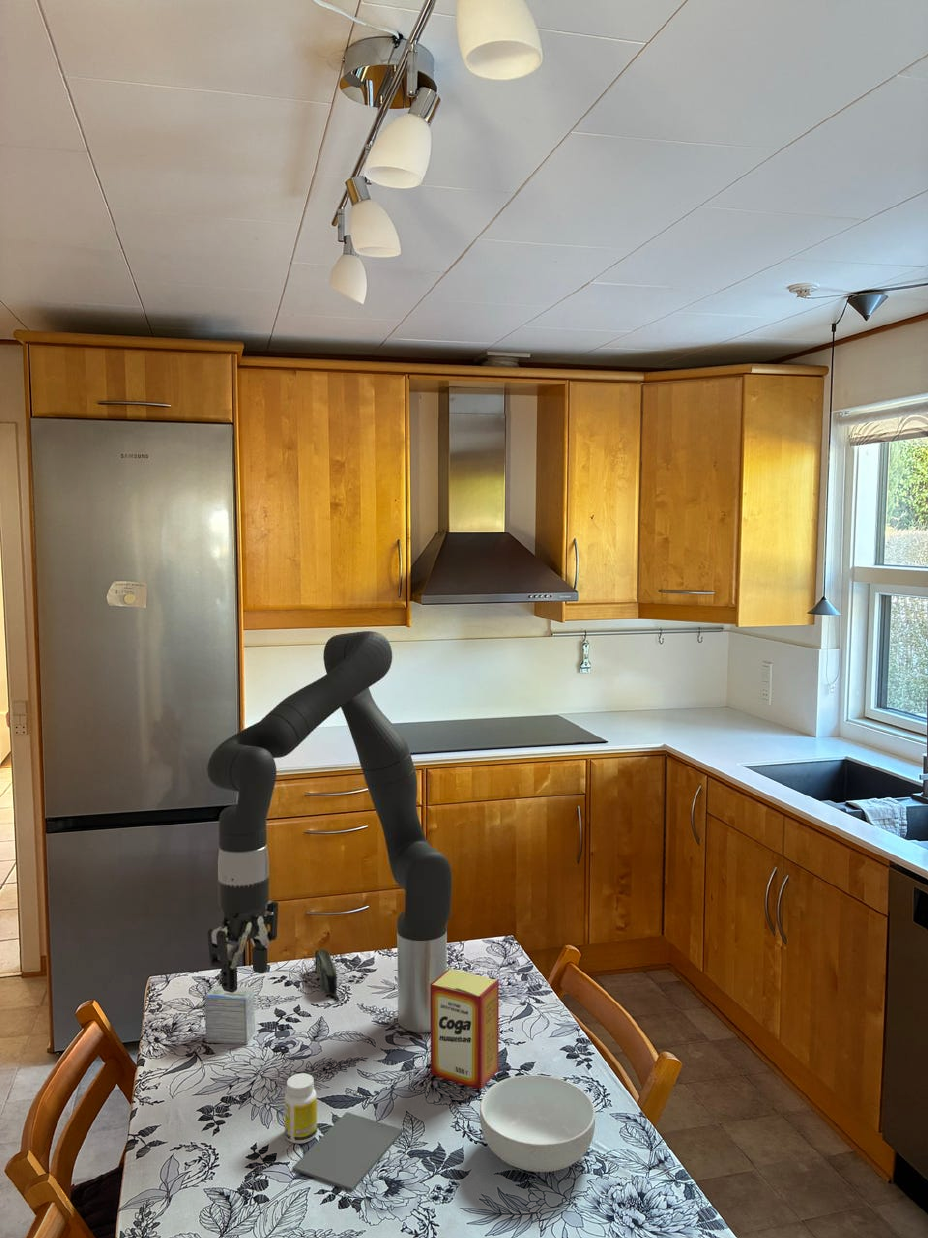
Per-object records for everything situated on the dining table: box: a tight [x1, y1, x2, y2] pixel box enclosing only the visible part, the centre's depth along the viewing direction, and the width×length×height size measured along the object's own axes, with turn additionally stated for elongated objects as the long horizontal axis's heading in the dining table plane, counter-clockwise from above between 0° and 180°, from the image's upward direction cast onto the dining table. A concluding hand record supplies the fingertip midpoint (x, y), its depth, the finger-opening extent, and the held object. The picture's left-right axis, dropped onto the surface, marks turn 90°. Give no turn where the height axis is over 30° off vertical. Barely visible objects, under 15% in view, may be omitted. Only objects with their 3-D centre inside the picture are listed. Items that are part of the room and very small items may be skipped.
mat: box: [291, 1111, 404, 1192], centre depth 130 cm, size 10×14×1 cm
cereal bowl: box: [479, 1074, 596, 1173], centre depth 129 cm, size 17×17×7 cm
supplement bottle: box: [284, 1072, 318, 1145], centre depth 133 cm, size 5×5×8 cm
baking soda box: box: [430, 968, 500, 1091], centre depth 149 cm, size 10×6×16 cm
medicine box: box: [204, 985, 256, 1045], centre depth 161 cm, size 8×4×9 cm, turn 84°
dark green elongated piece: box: [314, 949, 340, 1001], centre depth 181 cm, size 5×3×15 cm
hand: (245, 980), depth 137 cm, fingers open, 6 cm apart
